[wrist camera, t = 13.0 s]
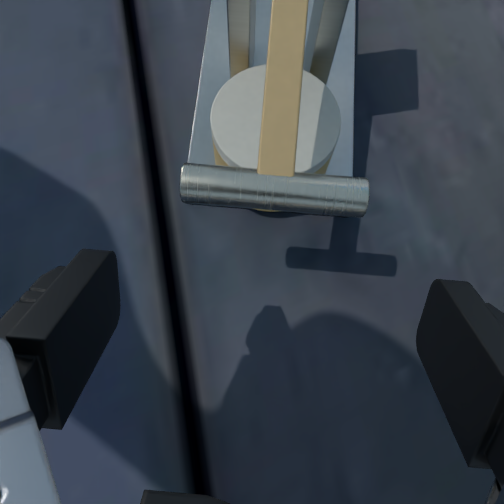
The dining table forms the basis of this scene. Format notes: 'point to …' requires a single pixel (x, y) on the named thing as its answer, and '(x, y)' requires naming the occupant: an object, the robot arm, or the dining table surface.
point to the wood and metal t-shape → (278, 142)
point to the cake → (250, 115)
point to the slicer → (255, 53)
